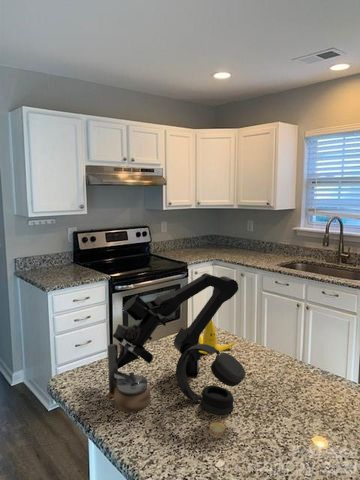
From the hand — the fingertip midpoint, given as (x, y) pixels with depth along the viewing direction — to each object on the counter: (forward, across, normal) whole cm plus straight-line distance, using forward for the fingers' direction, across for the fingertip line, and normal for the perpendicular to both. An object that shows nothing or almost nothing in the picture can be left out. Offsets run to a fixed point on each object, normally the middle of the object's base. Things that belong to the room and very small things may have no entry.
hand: (115, 368), depth 118 cm
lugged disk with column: (+4, +6, +5) cm, 9 cm away
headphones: (-9, +24, +19) cm, 32 cm away
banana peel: (-28, -10, +40) cm, 49 cm away
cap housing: (+5, +7, +5) cm, 10 cm away
